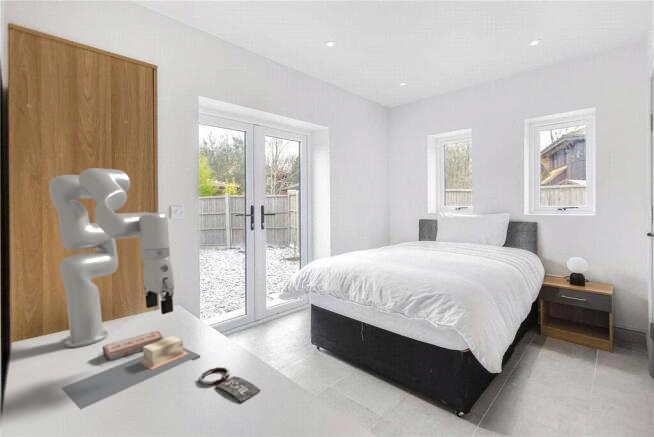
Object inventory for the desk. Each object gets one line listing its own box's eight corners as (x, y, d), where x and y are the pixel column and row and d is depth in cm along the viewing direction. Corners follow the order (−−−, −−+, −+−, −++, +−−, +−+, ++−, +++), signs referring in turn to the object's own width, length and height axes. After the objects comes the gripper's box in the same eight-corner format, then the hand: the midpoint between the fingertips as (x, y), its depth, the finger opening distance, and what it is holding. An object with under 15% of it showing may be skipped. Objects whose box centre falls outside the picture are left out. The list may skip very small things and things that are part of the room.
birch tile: (173, 349, 102) (172, 335, 101) (183, 353, 98) (182, 339, 98) (144, 361, 95) (143, 346, 94) (153, 366, 91) (152, 351, 91)
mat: (61, 389, 83) (61, 386, 83) (174, 345, 107) (174, 342, 107) (81, 411, 73) (80, 408, 73) (200, 357, 97) (200, 354, 97)
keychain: (236, 408, 72) (235, 400, 72) (193, 382, 84) (193, 374, 84) (263, 391, 78) (262, 383, 78) (220, 369, 90) (219, 362, 90)
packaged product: (158, 327, 112) (165, 335, 105) (159, 340, 112) (167, 349, 105) (96, 343, 101) (99, 354, 93) (97, 358, 101) (100, 370, 93)
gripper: (182, 254, 92) (186, 311, 93) (155, 250, 103) (158, 301, 104) (156, 258, 86) (160, 319, 87) (130, 253, 97) (134, 308, 98)
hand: (159, 309), depth 96 cm, fingers open, 9 cm apart
